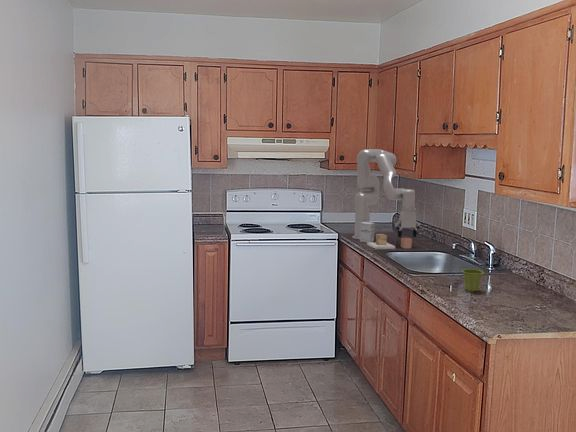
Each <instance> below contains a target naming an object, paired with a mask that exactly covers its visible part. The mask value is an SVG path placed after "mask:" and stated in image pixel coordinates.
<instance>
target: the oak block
mask: <svg viewBox="0 0 576 432" xmlns="http://www.w3.org/2000/svg"><path fill="white" fill-rule="evenodd" d="M387 240H388V235H387V234H384V233H376V234H375V242H376V244H378V245H386V243H388V241H387Z"/></svg>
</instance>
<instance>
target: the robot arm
mask: <svg viewBox="0 0 576 432" xmlns="http://www.w3.org/2000/svg"><path fill="white" fill-rule="evenodd" d="M356 156H357V157H356V166H357V167H356V168H357V172H356V175H357V176H356V177H357V178H356V179H357V180H356V185H357V188H358V189H360V191H358V192H356V194H355V195H354V199H353V200H354V206H355V211H354V212H355V214H354V215H355V218H354V219H355V220H354V235H352V236H351V238H352V239H354V240H360V231H361V223H362V222H370V217H371V214H370V213H371V212H370V208H369V206H375V205H376V204H378V202H379V199H380V179H379V178H378V176H377V175H375V174H371V166H370V164H369V163H376V164H377V166H378V168H379V170H380V172H381V174H382V177H383V180H382V189H383V192H384V193H385V196H386V197H387V199H388V200H390V201H402V202H401V203H402V204H401V205H402V206H401V211H399V218H398V221H397V222H395V223H394V227H395V229H396V231H397V236H398V238H403V237H402V234H403V232H402V230H403V229H413V230H412V237H413V238H416V237H417V234H418V233H417V232H418V230H419V229H420V227H421V225H422V223H421V222H419V221H418V220H417V215H416V211H417V207H415V205H416V203H415V202H416V201H415V199H416V190H414V189H407V188H405V187H404V188H396V187H395V188H394V186H393V183H392V179H393V178H394V177H395V176H396V175H397V170H396V168H395V167H394V166H395V165H397V164H396V163H397V162H398V161H397V156H396V154H394V153H392V152H390V151H387V150H385V149H384V150H383V149H379V148H375V149H374V148H364V149H362V150H360V151H359V152H358V154H357V155H356ZM361 190H363V191H361Z"/></svg>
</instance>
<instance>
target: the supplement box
mask: <svg viewBox="0 0 576 432" xmlns="http://www.w3.org/2000/svg"><path fill="white" fill-rule="evenodd" d="M375 224H376V222H372V221H369V222H362V223H361V231H360V239H359V242H360V243H366V244H367V243H371V242H374V241H375V226H376V225H375Z"/></svg>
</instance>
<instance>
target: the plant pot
mask: <svg viewBox="0 0 576 432" xmlns="http://www.w3.org/2000/svg"><path fill="white" fill-rule="evenodd" d="M461 272H462V275H463V282H464V290H466V291H467V292H479V290H480V285H481V281H482V277H483V274H484V271H483V270H480V269H474V268H472V269H471V268H467V269H466V268H463V269H461Z"/></svg>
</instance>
